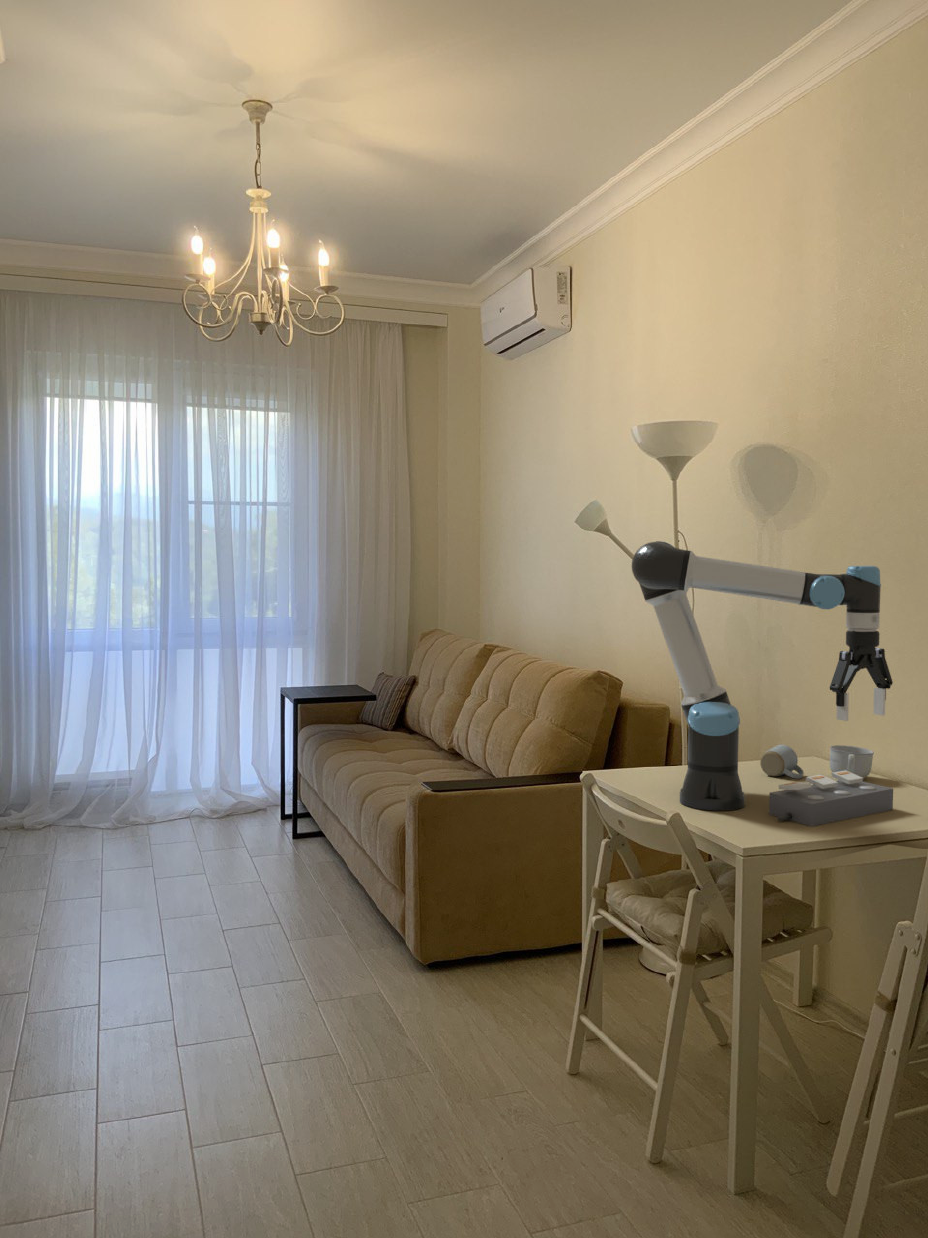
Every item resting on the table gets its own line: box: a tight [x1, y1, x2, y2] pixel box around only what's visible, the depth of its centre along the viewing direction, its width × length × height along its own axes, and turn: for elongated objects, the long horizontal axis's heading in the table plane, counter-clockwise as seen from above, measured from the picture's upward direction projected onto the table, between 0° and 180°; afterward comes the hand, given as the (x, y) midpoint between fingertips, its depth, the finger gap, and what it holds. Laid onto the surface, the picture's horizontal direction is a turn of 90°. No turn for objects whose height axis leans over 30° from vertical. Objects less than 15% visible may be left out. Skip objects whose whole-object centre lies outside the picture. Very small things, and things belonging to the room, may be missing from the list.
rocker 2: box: [805, 774, 838, 789], centre depth 239 cm, size 5×5×1 cm
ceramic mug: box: [759, 744, 805, 780], centre depth 274 cm, size 11×8×8 cm
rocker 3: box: [830, 770, 864, 784], centre depth 243 cm, size 5×5×1 cm
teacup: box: [829, 744, 874, 780], centre depth 270 cm, size 14×11×8 cm
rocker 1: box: [778, 781, 812, 791], centre depth 234 cm, size 5×5×1 cm
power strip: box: [768, 780, 894, 827], centre depth 235 cm, size 32×12×5 cm, turn 121°
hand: (861, 717), depth 248 cm, fingers open, 13 cm apart
